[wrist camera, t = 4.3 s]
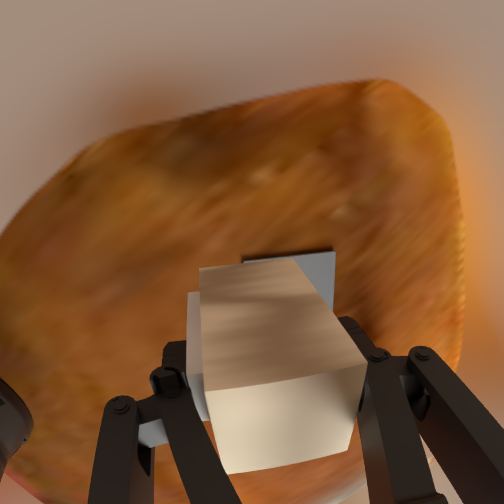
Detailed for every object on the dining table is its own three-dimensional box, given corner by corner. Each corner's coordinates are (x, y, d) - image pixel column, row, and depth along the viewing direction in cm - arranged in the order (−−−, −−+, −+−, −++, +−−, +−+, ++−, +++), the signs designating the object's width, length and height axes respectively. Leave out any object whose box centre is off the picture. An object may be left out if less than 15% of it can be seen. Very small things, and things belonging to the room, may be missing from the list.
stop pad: (249, 339, 34) (249, 340, 33) (243, 260, 30) (243, 261, 30) (330, 326, 35) (331, 328, 34) (334, 250, 31) (335, 251, 31)
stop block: (210, 345, 19) (224, 474, 10) (199, 268, 17) (204, 391, 9) (292, 333, 19) (347, 450, 11) (292, 257, 18) (367, 362, 9)
